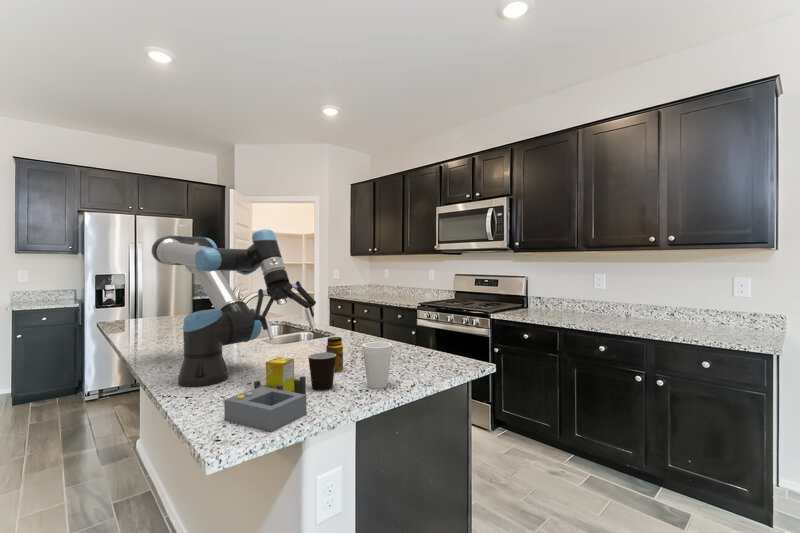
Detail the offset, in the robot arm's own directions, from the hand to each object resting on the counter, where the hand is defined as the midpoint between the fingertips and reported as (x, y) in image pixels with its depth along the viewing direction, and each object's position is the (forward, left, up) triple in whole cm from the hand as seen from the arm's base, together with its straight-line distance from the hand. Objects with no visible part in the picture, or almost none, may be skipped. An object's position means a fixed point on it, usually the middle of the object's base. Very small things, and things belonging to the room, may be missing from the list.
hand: (292, 332), depth 126 cm
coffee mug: (+10, +3, -17) cm, 20 cm away
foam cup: (+25, +11, -17) cm, 32 cm away
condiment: (+1, +19, -17) cm, 26 cm away
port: (+13, -24, -17) cm, 32 cm away
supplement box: (+5, -11, -17) cm, 21 cm away
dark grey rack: (+5, -11, -17) cm, 20 cm away
